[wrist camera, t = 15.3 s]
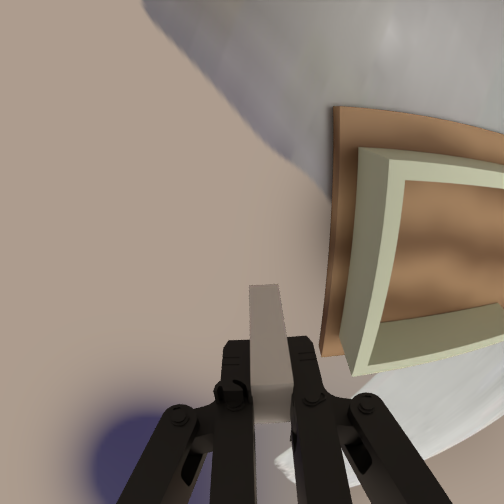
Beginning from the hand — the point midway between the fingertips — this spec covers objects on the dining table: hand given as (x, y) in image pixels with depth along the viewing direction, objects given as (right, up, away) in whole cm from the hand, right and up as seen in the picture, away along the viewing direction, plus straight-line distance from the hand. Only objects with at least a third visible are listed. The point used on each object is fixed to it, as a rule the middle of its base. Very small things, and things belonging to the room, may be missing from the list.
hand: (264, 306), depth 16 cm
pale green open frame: (+15, +3, +4) cm, 16 cm away
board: (+21, +4, +5) cm, 22 cm away
